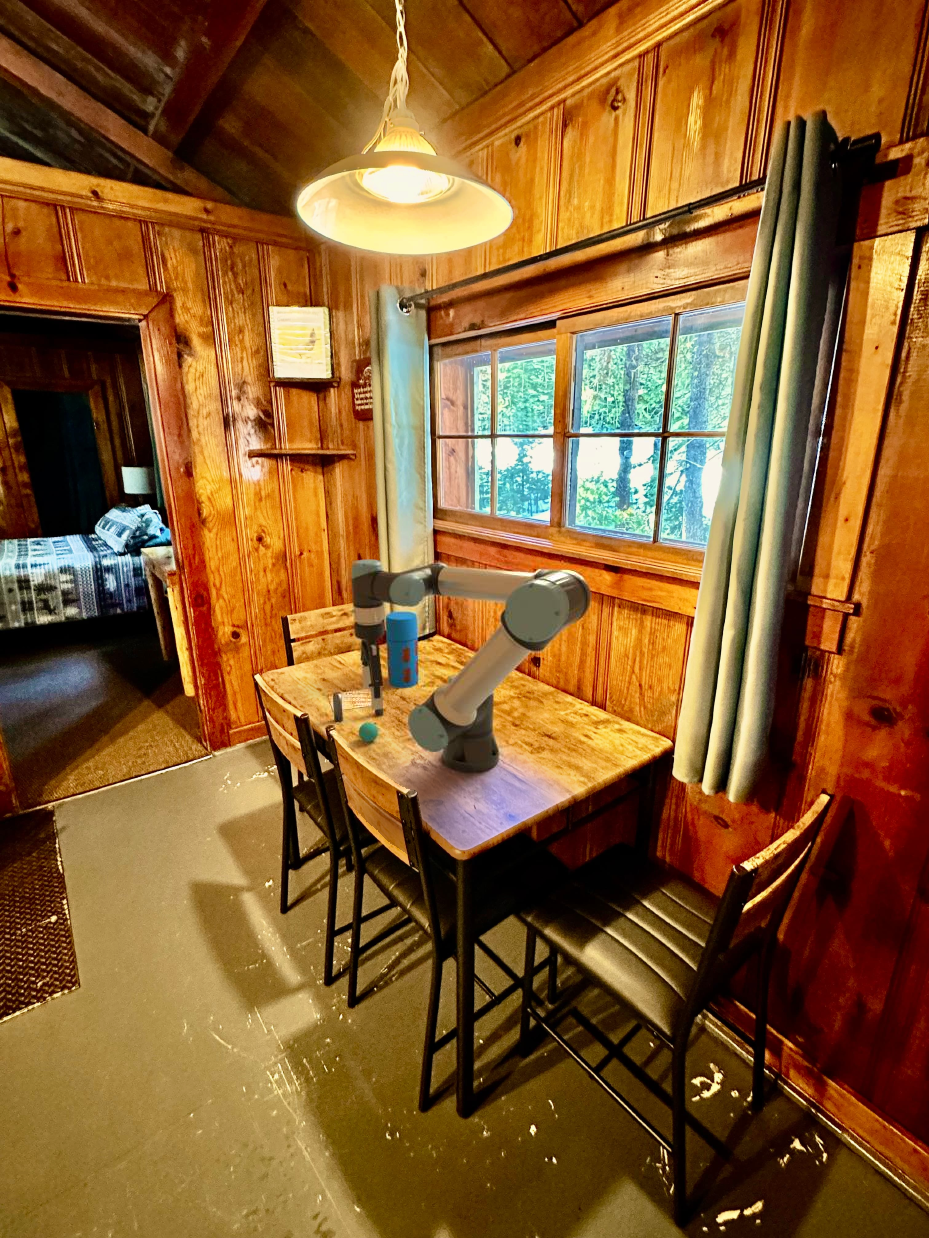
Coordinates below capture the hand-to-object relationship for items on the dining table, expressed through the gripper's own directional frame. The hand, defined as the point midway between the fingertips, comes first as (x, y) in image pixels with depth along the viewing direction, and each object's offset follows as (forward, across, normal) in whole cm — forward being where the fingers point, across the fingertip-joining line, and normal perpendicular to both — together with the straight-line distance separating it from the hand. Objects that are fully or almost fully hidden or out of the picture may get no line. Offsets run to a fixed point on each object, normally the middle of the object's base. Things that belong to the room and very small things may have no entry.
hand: (372, 698), depth 151 cm
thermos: (+17, -48, +18) cm, 54 cm away
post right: (+17, -25, +6) cm, 31 cm away
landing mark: (+17, -39, -1) cm, 42 cm away
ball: (+14, -9, 0) cm, 17 cm away
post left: (+17, -24, -7) cm, 31 cm away
